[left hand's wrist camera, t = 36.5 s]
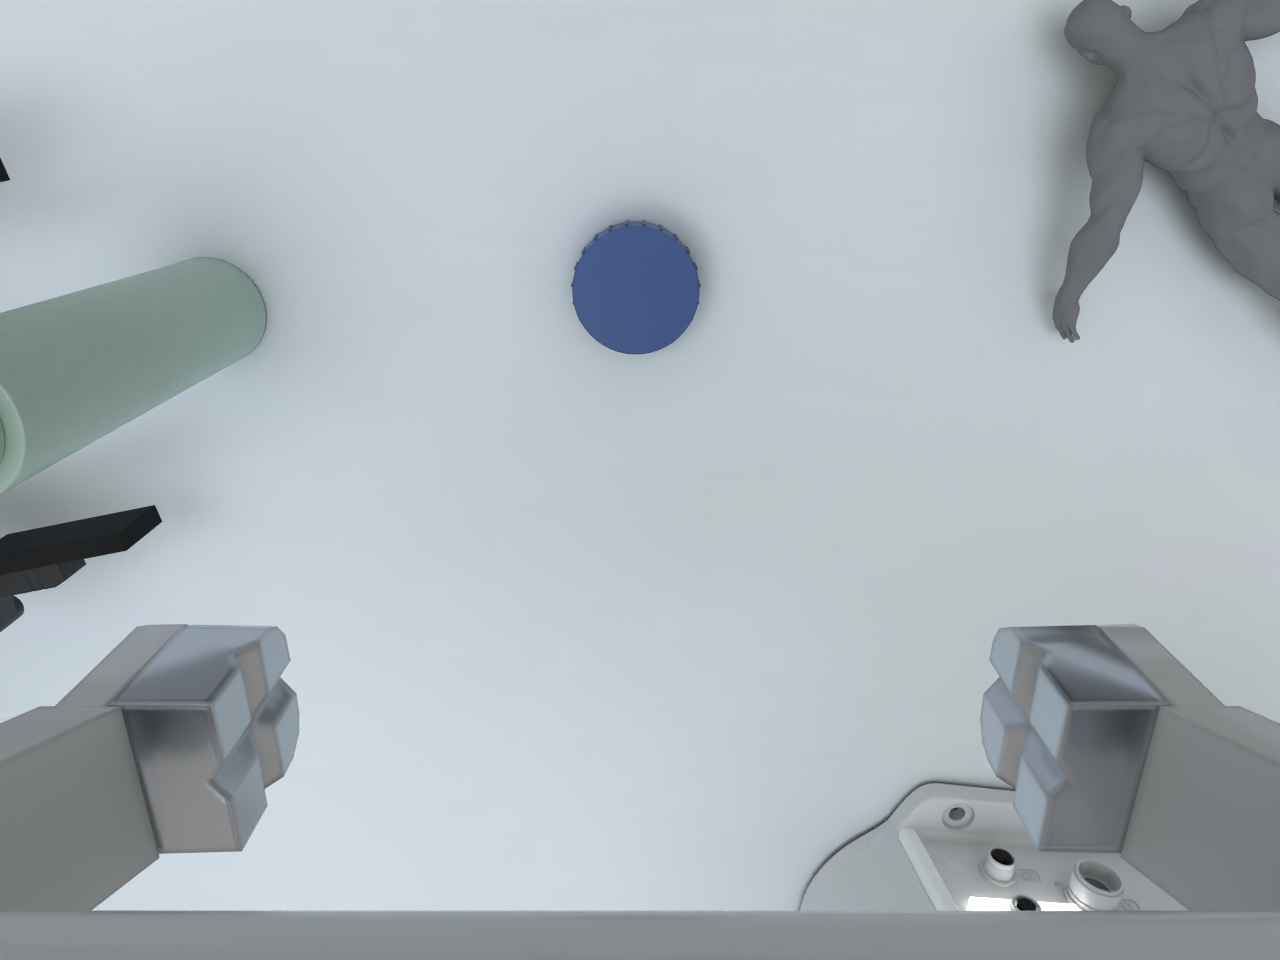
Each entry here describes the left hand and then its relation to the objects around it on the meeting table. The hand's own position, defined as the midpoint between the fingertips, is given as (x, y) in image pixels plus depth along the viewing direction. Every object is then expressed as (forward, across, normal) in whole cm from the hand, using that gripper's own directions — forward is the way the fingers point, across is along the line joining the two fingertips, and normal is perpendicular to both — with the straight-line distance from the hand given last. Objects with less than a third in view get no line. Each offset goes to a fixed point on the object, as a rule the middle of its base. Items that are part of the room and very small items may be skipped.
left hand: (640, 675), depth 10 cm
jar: (+29, +18, +1) cm, 34 cm away
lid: (+27, 0, 0) cm, 27 cm away
